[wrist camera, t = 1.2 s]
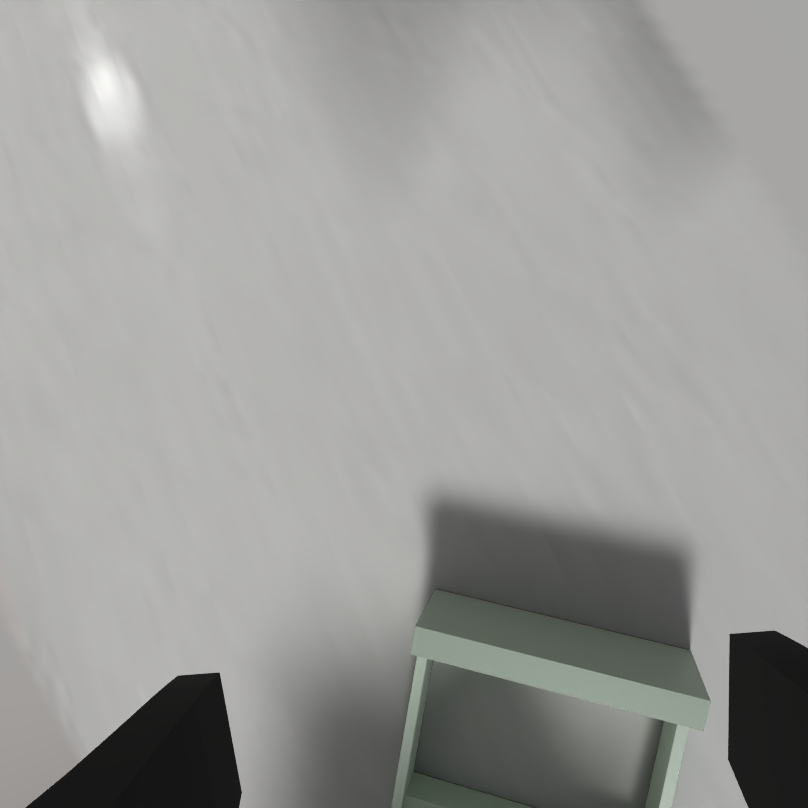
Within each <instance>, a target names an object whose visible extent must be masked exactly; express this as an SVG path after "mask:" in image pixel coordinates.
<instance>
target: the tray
mask: <svg viewBox="0 0 808 808" xmlns="http://www.w3.org/2000/svg"><path fill="white" fill-rule="evenodd" d="M411 655H415V656H417V659H416V665H415V671H414V677H413V683H412V688H411V694H410V700H409V706H408V712H407V717H406V723H405V729H404V735H403V741H402V746H401V752H400V758H399V764H398V770H397V775H396V781H395V787H394V793H393V799H392V804H391V808H533V807H530V806H526V805H523V804H520V803H516V802H513V801H510V800H506V799H503V798H500V797H496V796H493V795H489V794H486V793H483V792H479V791H476V790H473V789H469V788H466V787H462V786H459V785H456V784H452V783H449V782H446V781H442V780H439V779H436V778H432V777H429V776H425V775H422V774H419V773H415V772H414V766H415V760H416V754H417V749H418V743H419V737H420V732H421V726H422V720H423V714H424V709H425V703H426V697H427V692H428V686H429V680H430V675H431V669H432V663H433V660H434V661H438V662H441V663H445V664H449V665H453V666H457V667H461V668H464V669H468V670H472V671H476V672H480V673H483V674H487V675H491V676H495V677H499V678H502V679H506V680H510V681H514V682H518V683H522V684H525V685H529V686H533V687H537V688H541V689H544V690H548V691H552V692H556V693H560V694H563V695H567V696H571V697H575V698H579V699H582V700H586V701H590V702H594V703H598V704H602V705H605V706H609V707H613V708H617V709H621V710H624V711H628V712H632V713H636V714H640V715H643V716H647V717H651V718H655V719H659V720H663V721H664V723H663V727H662V732H661V736H660V741H659V746H658V750H657V755H656V759H655V764H654V769H653V773H652V778H651V782H650V787H649V792H648V796H647V801H646V805H645V808H671V806H672V802H673V797H674V793H675V788H676V784H677V779H678V775H679V770H680V766H681V761H682V757H683V752H684V748H685V743H686V739H687V734H688V730H689V728H693V729H697V730H701V731H704V728H705V724H706V719H707V715H708V710H709V706H710V702H711V701H710V698H709V696H708V693H707V691H706V688H705V686H704V683H703V681H702V678H701V676H700V673H699V670H698V668H697V665H696V663H695V660H694V658H693V655H692V653H691V651H690V650H686V649H682V648H678V647H674V646H669V645H665V644H661V643H657V642H653V641H649V640H644V639H640V638H636V637H632V636H628V635H624V634H620V633H615V632H611V631H607V630H603V629H599V628H595V627H591V626H586V625H582V624H578V623H574V622H570V621H566V620H562V619H557V618H553V617H549V616H545V615H541V614H537V613H533V612H528V611H524V610H520V609H516V608H512V607H508V606H504V605H499V604H495V603H491V602H487V601H483V600H479V599H475V598H470V597H466V596H462V595H458V594H454V593H450V592H446V591H441V590H437V589H435V591H434V593H433V595H432V596H431V598H430V600H429V602H428V604H427V606H426V607H425V609H424V611H423V613H422V615H421V617H420V618H419V620H418V622H417V624H416V626H415V630H414V636H413V642H412V648H411Z"/></svg>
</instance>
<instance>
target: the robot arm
mask: <svg viewBox="0 0 808 808" xmlns="http://www.w3.org/2000/svg"><path fill="white" fill-rule="evenodd" d="M728 760H729V762H730V765H731V767H732V770H733V772H734V774H735V777H736V779H737V781H738V784H739V786H740V789H741V791H742V793H743V796H744V798H745V801H746V803H747V805H748V807H749V808H808V648H806V647H805V646H803V645H801V644H799V643H797V642H796V641H794V640H792V639H790V638H788V637H786V636H784V635H782V634H780V633H778V632H776V631H764V632H751V633H738V634H730V654H729V739H728ZM241 793H242V791H241V786H240V781H239V775H238V770H237V764H236V759H235V754H234V748H233V743H232V737H231V732H230V727H229V721H228V716H227V710H226V705H225V699H224V694H223V689H222V683H221V678H220V673H208V674H195V675H182V676H177V677H176V678H175V679H173V680H172V681H171V682H170V683H168V684H167V685H166V686H165V687H164V688H162V689H161V690H160V691H159V692H158V693H157V694H156V695H154V696H153V697H152V698H151V699H150V700H149V701H148V702H147V703H145V704H144V705H143V706H142V707H141V708H140V709H139V710H138V711H137V712H135V713H134V714H133V715H132V716H131V717H130V718H129V719H128V720H127V721H126V722H124V723H123V724H122V725H121V726H120V727H119V728H118V729H117V730H116V731H114V732H113V733H112V734H111V735H110V736H109V737H108V738H107V739H105V740H104V741H103V742H102V743H101V744H100V745H99V746H98V747H96V748H95V749H94V750H93V751H92V752H91V753H90V754H89V755H87V756H86V757H85V758H84V759H83V760H82V761H81V762H80V763H78V764H77V765H76V766H75V767H74V768H73V769H72V770H71V771H69V772H68V773H67V774H66V775H65V776H64V777H62V778H61V779H60V780H59V781H57V782H56V783H55V784H54V785H53V786H51V787H50V788H49V789H48V790H46V791H45V792H44V793H43V794H42V795H40V796H39V797H38V798H37V799H36V800H34V801H33V802H32V803H31V804H30V805H28V806H27V807H26V808H239V804H240V799H241Z"/></svg>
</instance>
